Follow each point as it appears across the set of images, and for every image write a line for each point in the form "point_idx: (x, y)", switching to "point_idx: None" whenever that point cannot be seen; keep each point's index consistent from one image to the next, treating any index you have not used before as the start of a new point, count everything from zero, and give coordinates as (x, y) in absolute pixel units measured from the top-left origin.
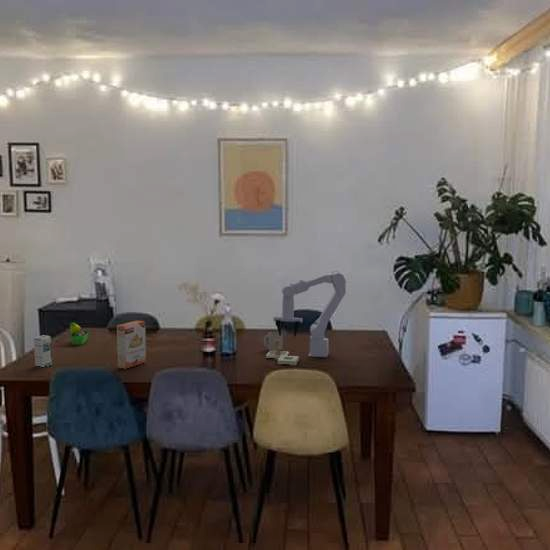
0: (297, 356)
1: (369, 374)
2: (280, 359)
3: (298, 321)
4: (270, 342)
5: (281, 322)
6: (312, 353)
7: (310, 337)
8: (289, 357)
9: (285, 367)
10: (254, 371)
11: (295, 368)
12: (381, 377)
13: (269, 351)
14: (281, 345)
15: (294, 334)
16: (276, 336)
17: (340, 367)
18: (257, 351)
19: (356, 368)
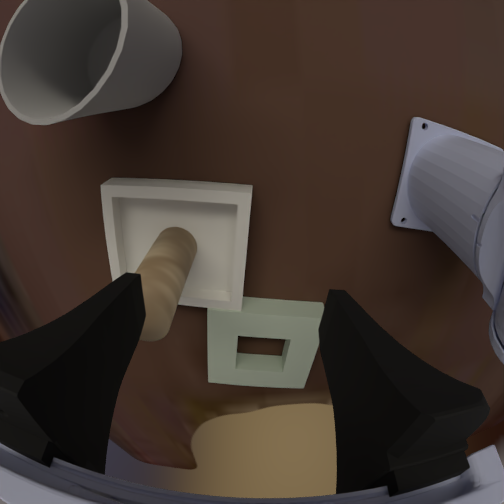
0: (317, 321)
1: (493, 392)
2: (220, 371)
3: (424, 493)
4: (63, 105)
5: (47, 380)
6: (423, 221)
7: (479, 260)
8: (267, 337)
9: (254, 395)
10: (150, 419)
11: (297, 401)
12: (500, 400)
13: (104, 206)
14: (165, 68)
15: (324, 353)
16: (78, 114)
17: (464, 363)
18: (33, 127)
19: (498, 359)
